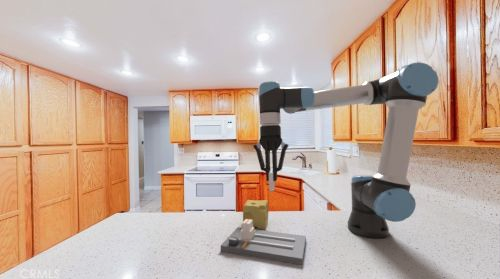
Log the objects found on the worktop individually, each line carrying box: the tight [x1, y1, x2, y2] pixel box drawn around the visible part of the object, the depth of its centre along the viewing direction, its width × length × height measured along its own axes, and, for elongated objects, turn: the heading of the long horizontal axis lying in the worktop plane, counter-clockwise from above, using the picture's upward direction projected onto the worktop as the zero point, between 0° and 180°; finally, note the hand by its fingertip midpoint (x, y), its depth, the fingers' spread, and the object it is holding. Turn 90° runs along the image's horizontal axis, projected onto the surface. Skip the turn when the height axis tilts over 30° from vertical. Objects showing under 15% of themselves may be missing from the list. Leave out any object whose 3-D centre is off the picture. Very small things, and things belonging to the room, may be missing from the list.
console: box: [220, 226, 307, 266], centre depth 77 cm, size 28×16×4 cm, turn 71°
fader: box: [241, 219, 255, 240], centre depth 80 cm, size 4×4×6 cm
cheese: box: [242, 199, 269, 230], centre depth 97 cm, size 10×11×10 cm
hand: (272, 189), depth 77 cm, fingers closed
